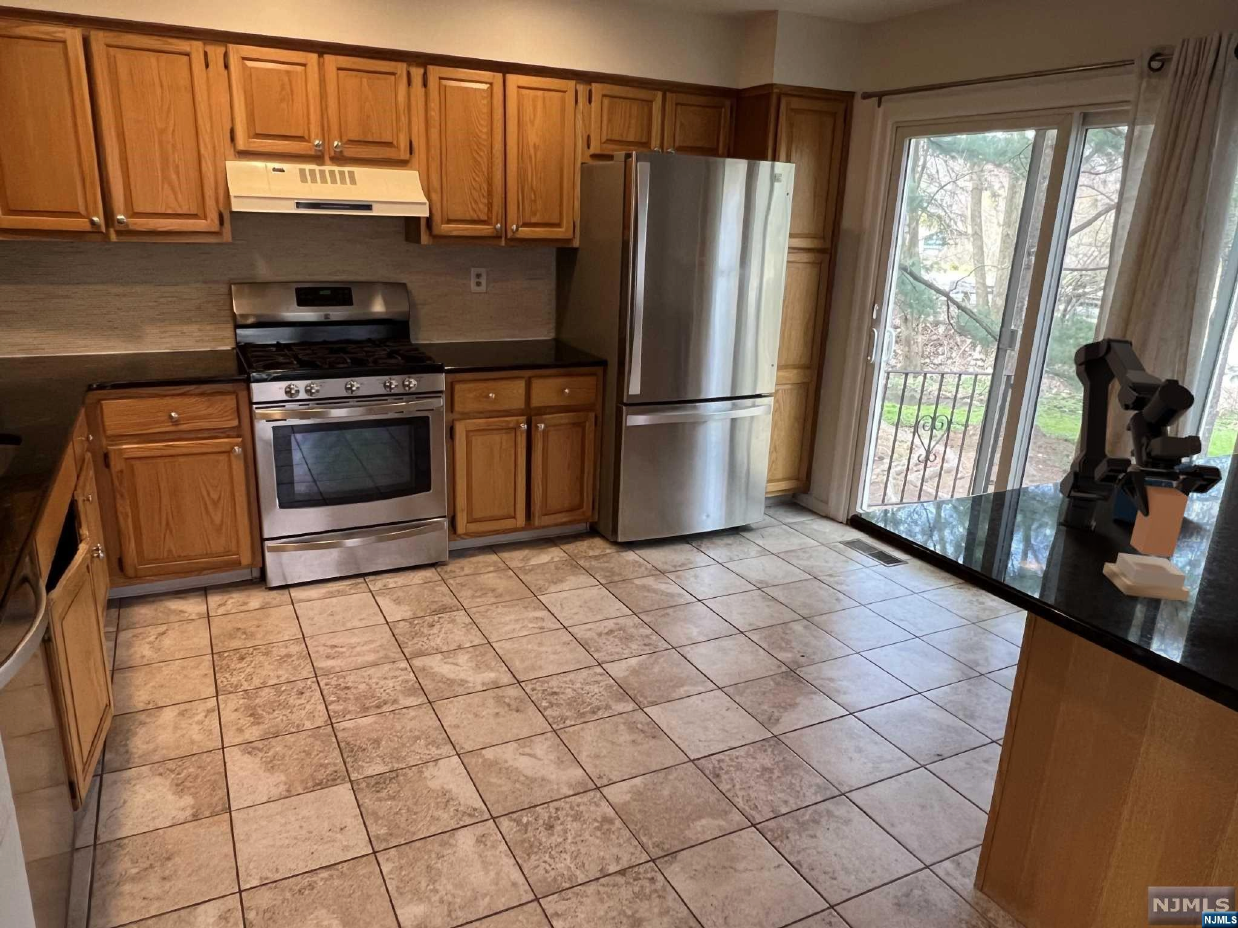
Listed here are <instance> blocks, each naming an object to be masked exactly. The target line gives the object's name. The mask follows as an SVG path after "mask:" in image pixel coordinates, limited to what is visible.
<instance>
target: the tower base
mask: <svg viewBox="0 0 1238 928" xmlns="http://www.w3.org/2000/svg"><path fill="white" fill-rule="evenodd" d="M1102 573H1103V574H1104V575H1105V576H1106V578H1107V579H1108V580H1110V581H1111V583H1113V584H1114V585H1115V586H1116V587H1117V588H1118V589H1119V590H1120V591H1121V592H1122V593H1123V594H1124V595H1125V596H1133V597H1134V596H1135V597H1142V598H1151V599H1158V600H1159V599H1162V600H1171V601H1177V600H1182V601H1181V602H1186V601H1187V602H1188V601H1189V600H1188V599H1189V596H1190V592H1191V591H1190V590H1189V589H1188V588H1187V587H1185V586H1184V585H1183V588H1182V589H1178V588H1171V587H1163V586H1156V585H1148V584H1140V583H1133V582H1131V581H1130V580H1129V579H1128V578H1127V577H1126V576H1125V574H1124V573H1123V572H1122V571H1121V570H1120V569H1119V568H1118V567H1117V566H1116V563H1112V562H1105V563H1104V566H1103V570H1102Z"/></svg>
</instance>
